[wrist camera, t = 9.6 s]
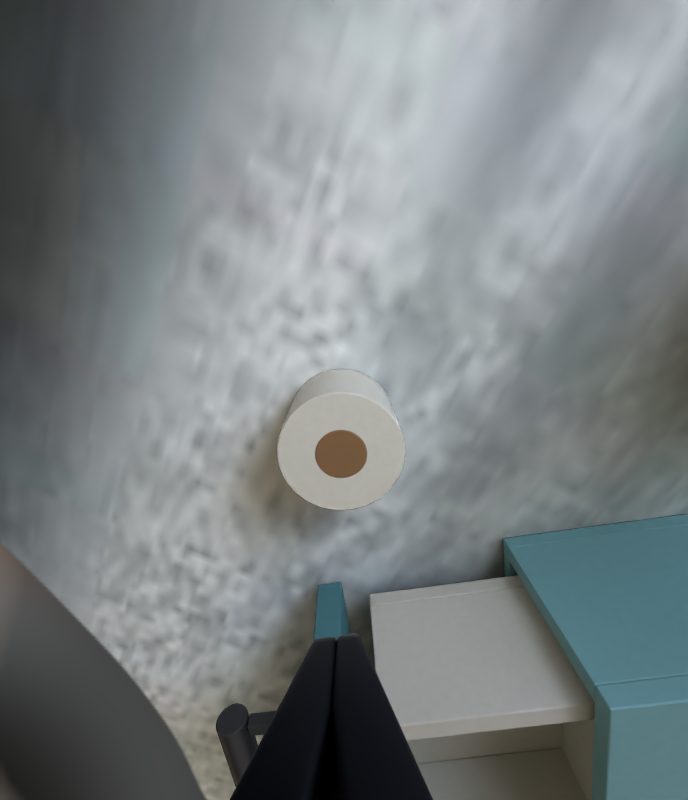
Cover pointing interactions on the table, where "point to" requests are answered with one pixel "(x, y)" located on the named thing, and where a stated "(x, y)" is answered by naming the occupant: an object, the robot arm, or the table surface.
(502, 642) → the drawer
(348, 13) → the table surface
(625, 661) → the teal cabinet
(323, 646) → the robot arm
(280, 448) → the label roll
